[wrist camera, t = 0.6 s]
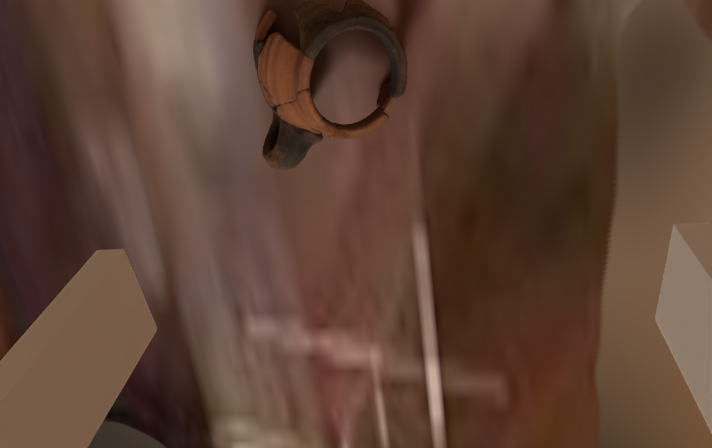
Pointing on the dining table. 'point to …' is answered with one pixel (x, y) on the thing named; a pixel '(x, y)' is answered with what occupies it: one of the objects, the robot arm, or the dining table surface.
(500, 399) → the dining table surface
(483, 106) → the dining table surface
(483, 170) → the dining table surface
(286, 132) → the pottery mug
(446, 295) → the dining table surface
